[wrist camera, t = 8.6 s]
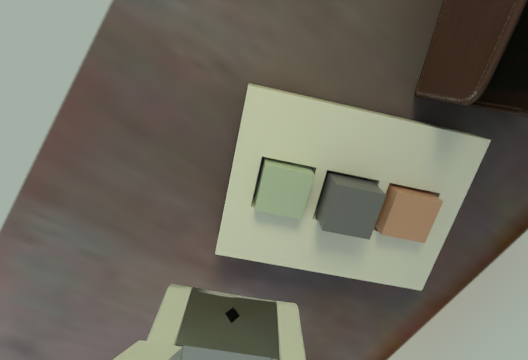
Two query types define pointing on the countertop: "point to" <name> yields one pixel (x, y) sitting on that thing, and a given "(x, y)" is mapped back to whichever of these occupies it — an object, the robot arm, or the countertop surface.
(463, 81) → the letter holder
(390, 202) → the terracotta key
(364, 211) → the charcoal key
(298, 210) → the sage key
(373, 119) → the cream key base
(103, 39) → the countertop surface
